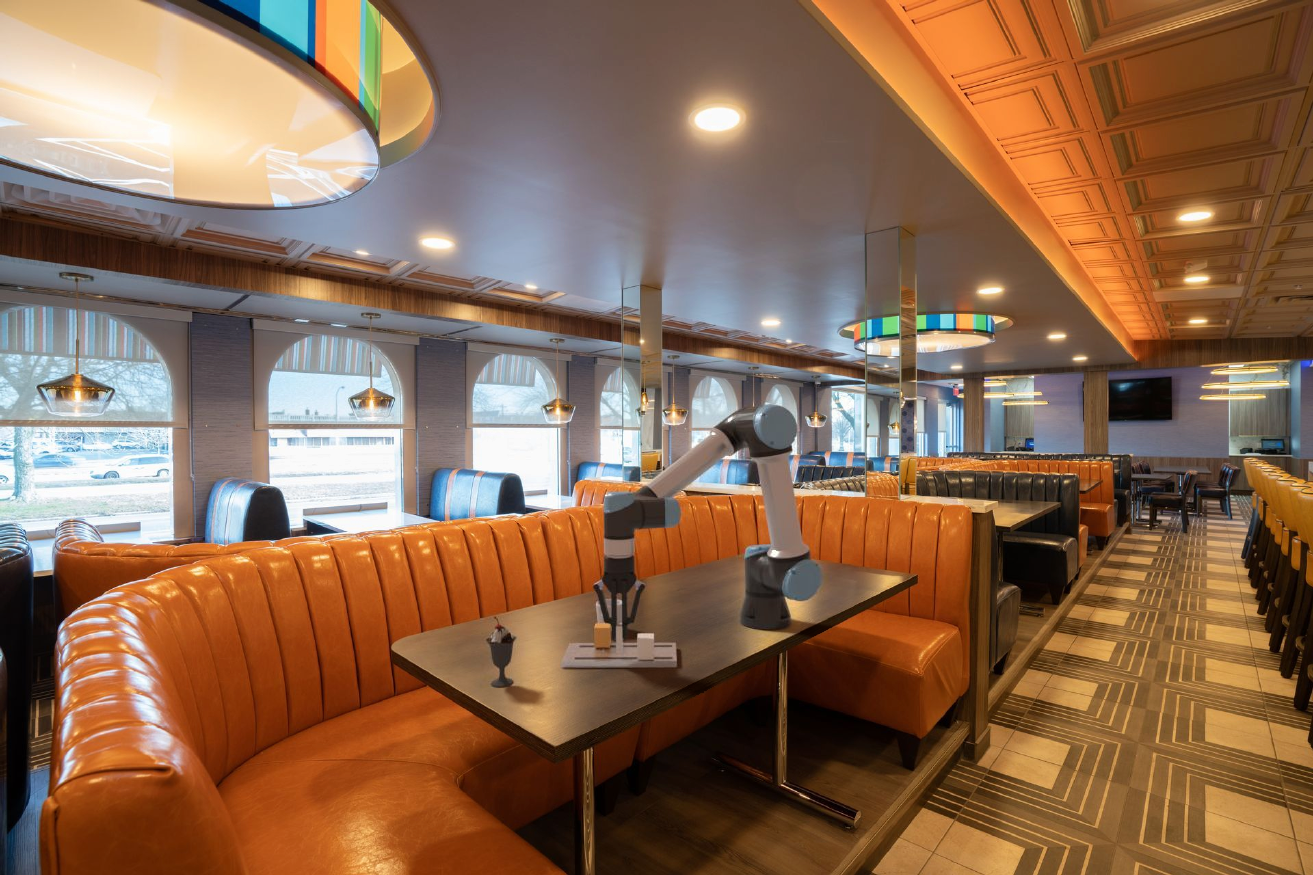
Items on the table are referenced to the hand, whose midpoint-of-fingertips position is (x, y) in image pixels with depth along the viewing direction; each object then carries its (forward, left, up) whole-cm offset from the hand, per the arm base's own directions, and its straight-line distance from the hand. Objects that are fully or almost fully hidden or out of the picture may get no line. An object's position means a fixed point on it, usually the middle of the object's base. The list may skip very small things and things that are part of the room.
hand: (619, 651), depth 150 cm
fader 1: (+5, -9, -1) cm, 10 cm away
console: (0, -5, -3) cm, 6 cm away
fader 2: (-6, 0, -1) cm, 7 cm away
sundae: (+26, +11, -4) cm, 28 cm away
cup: (+5, -25, -4) cm, 26 cm away
